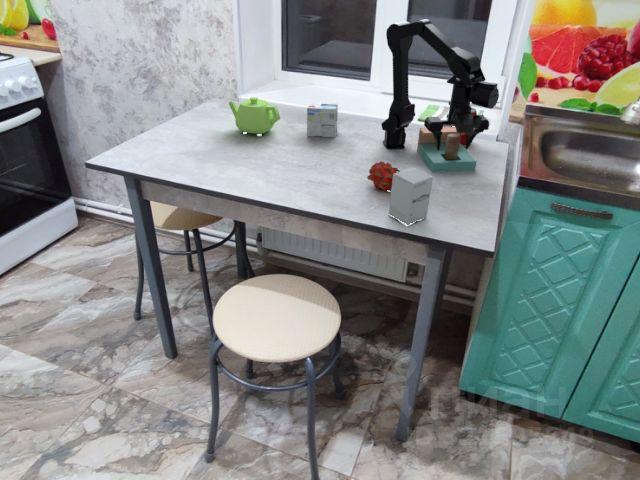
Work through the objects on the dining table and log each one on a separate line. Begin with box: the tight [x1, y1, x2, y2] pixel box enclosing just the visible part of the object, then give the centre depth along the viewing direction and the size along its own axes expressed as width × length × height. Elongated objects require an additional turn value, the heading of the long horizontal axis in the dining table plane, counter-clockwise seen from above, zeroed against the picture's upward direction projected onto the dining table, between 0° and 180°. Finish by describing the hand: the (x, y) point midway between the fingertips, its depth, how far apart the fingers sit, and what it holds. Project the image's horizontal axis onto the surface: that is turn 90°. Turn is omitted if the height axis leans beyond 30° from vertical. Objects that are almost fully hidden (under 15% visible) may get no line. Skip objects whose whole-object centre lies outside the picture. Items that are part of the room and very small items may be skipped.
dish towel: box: [417, 104, 485, 122], centre depth 189 cm, size 17×23×4 cm
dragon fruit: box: [367, 160, 401, 192], centre depth 138 cm, size 8×8×12 cm
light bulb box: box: [306, 101, 339, 138], centre depth 172 cm, size 11×7×11 cm, turn 83°
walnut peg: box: [444, 134, 461, 161], centre depth 151 cm, size 4×4×10 cm
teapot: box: [228, 96, 281, 134], centre depth 173 cm, size 20×13×13 cm
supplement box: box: [388, 166, 434, 225], centre depth 123 cm, size 7×7×13 cm
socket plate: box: [416, 127, 477, 173], centre depth 155 cm, size 14×17×8 cm
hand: (452, 149), depth 150 cm, fingers open, 9 cm apart
